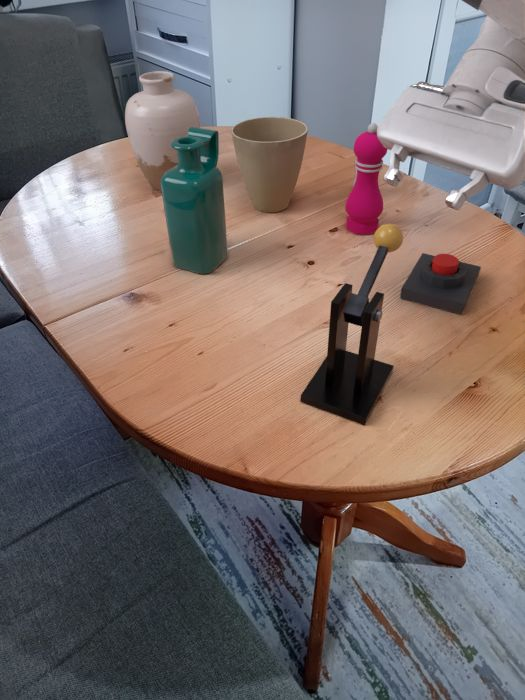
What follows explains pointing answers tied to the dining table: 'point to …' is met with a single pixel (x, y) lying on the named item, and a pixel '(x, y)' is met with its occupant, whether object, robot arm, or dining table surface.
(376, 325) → the stand
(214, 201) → the pitcher
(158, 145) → the vase
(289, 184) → the plant pot
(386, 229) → the lever
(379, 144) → the pepper mill
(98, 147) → the dining table surface
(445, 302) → the block
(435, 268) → the bell button
